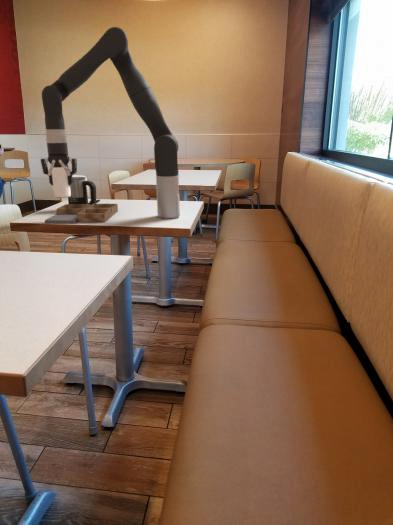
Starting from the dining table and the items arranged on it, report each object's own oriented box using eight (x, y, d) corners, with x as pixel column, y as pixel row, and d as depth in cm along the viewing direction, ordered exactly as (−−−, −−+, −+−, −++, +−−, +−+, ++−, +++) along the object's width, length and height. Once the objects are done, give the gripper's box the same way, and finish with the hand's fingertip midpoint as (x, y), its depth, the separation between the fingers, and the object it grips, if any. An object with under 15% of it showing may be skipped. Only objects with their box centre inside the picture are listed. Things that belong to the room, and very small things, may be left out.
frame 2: (111, 216, 174) (111, 208, 173) (105, 222, 164) (104, 213, 163) (85, 216, 175) (85, 208, 174) (77, 222, 164) (76, 213, 163)
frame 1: (90, 212, 184) (90, 204, 183) (83, 217, 174) (82, 208, 173) (66, 212, 185) (65, 204, 184) (57, 217, 174) (56, 208, 173)
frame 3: (118, 211, 186) (117, 203, 185) (112, 216, 175) (111, 208, 174) (93, 211, 186) (93, 203, 185) (86, 216, 175) (85, 208, 174)
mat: (83, 217, 173) (83, 214, 173) (74, 223, 162) (74, 220, 161) (56, 217, 174) (55, 214, 173) (44, 223, 162) (44, 220, 162)
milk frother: (66, 211, 185) (62, 178, 181) (72, 205, 200) (69, 175, 196) (98, 211, 187) (95, 178, 182) (101, 205, 202) (99, 174, 197)
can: (66, 198, 161) (62, 167, 157) (51, 197, 162) (47, 167, 159) (74, 195, 167) (71, 165, 164) (59, 195, 168) (56, 165, 165)
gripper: (78, 141, 161) (82, 183, 167) (42, 141, 162) (47, 183, 167) (71, 141, 154) (76, 186, 160) (34, 142, 155) (40, 186, 160)
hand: (61, 184), depth 163 cm, fingers closed on can, 6 cm apart
